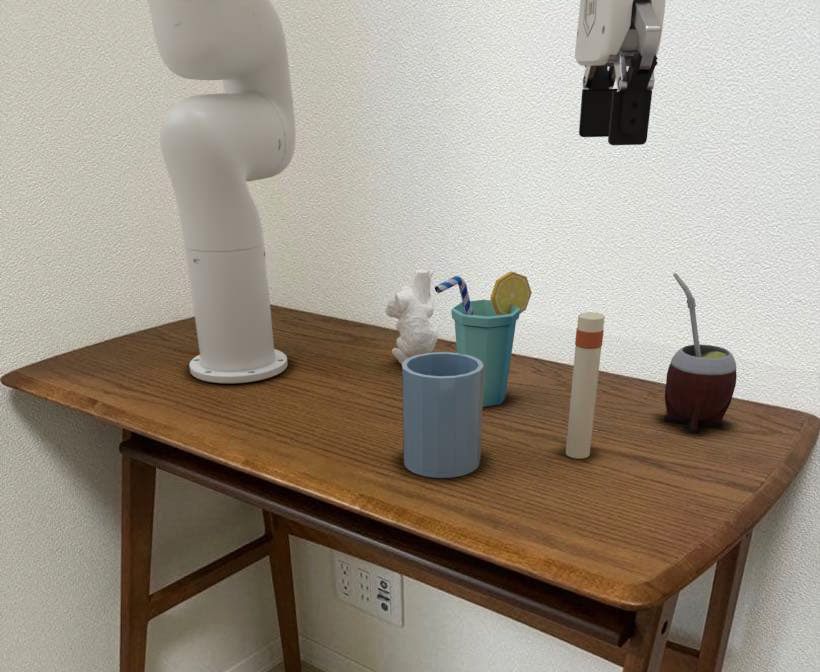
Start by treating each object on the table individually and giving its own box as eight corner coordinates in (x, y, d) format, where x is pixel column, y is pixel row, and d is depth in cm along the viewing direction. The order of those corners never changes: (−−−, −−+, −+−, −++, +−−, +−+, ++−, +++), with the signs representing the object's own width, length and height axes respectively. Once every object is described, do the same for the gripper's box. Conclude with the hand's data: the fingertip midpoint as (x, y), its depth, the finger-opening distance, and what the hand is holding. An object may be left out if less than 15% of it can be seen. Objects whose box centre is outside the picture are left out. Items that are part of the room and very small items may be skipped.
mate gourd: (727, 438, 86) (756, 293, 78) (650, 430, 88) (671, 288, 80) (725, 413, 92) (752, 276, 85) (653, 406, 94) (673, 272, 87)
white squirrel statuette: (415, 352, 113) (414, 262, 107) (455, 361, 109) (457, 268, 103) (376, 369, 107) (373, 274, 101) (417, 378, 103) (417, 281, 97)
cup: (461, 425, 90) (464, 286, 82) (412, 407, 95) (410, 274, 87) (540, 393, 98) (550, 264, 91) (491, 378, 103) (496, 255, 95)
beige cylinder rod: (560, 451, 83) (572, 314, 76) (579, 447, 84) (593, 310, 77) (575, 460, 82) (589, 320, 74) (595, 455, 82) (610, 316, 75)
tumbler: (390, 455, 83) (388, 359, 78) (455, 441, 86) (457, 347, 81) (426, 484, 77) (426, 382, 72) (494, 468, 80) (498, 369, 75)
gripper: (561, -80, 73) (548, 135, 81) (618, -119, 58) (595, 149, 66) (644, -81, 73) (622, 133, 82) (722, -119, 58) (686, 147, 67)
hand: (610, 140), depth 74 cm, fingers open, 9 cm apart
